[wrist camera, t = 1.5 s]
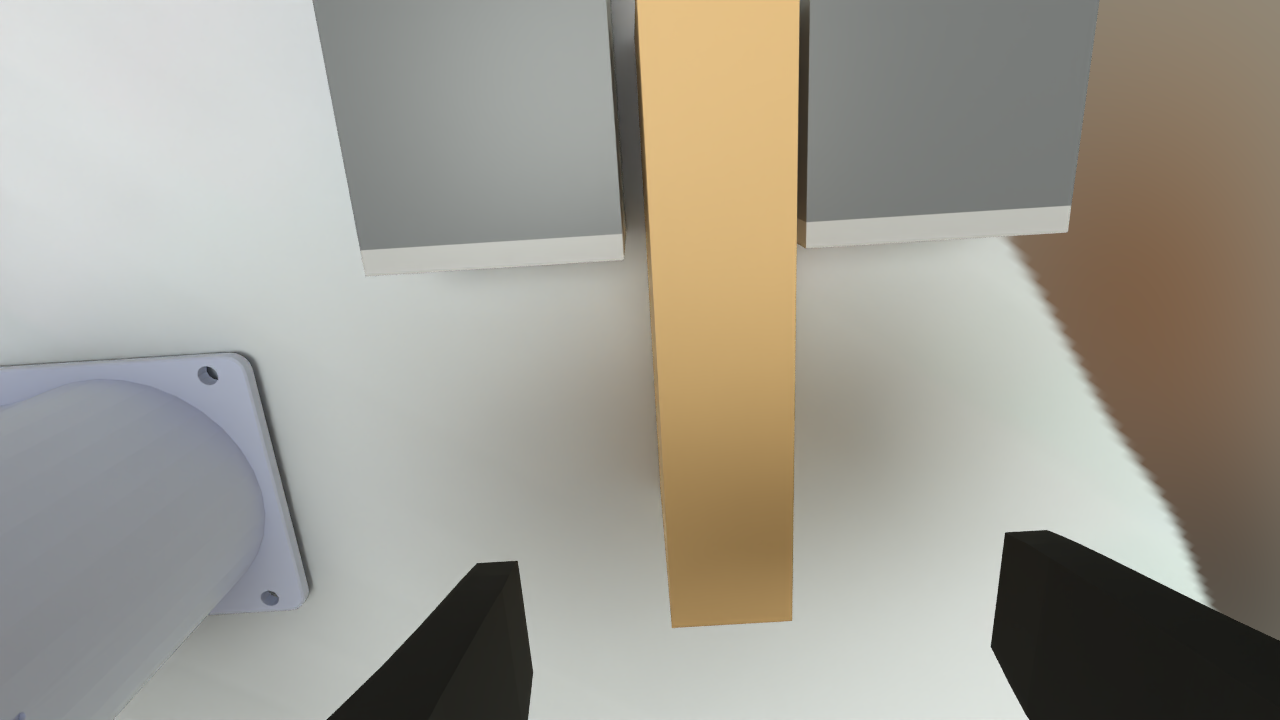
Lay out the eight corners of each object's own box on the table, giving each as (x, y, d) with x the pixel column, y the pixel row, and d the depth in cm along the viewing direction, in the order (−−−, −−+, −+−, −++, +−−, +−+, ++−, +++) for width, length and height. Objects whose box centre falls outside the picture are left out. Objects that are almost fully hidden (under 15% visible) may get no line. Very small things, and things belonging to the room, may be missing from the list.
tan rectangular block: (660, 486, 20) (671, 628, 14) (634, 38, 16) (635, -22, 10) (745, 481, 19) (791, 621, 14) (739, 31, 16) (799, -33, 10)
